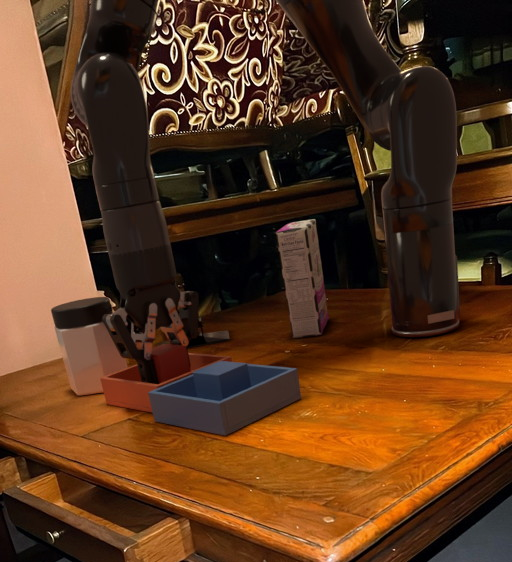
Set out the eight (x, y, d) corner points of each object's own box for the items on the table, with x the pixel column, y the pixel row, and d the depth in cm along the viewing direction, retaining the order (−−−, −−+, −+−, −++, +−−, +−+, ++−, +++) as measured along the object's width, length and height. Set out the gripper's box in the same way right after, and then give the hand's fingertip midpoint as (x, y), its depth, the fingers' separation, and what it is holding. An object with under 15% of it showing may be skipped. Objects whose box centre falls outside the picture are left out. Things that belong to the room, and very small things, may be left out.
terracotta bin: (177, 376, 98) (172, 351, 97) (236, 383, 90) (231, 356, 88) (106, 404, 91) (99, 377, 89) (163, 414, 82) (157, 386, 81)
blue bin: (229, 388, 88) (224, 361, 87) (301, 398, 80) (297, 368, 78) (154, 421, 80) (147, 392, 79) (225, 436, 72) (219, 403, 71)
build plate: (155, 354, 114) (149, 326, 112) (158, 345, 121) (152, 318, 119) (229, 340, 114) (224, 312, 112) (228, 331, 121) (223, 305, 119)
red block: (170, 376, 93) (163, 343, 91) (192, 379, 90) (185, 345, 88) (144, 386, 90) (136, 353, 88) (165, 390, 87) (158, 355, 85)
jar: (136, 384, 98) (117, 299, 93) (80, 399, 95) (57, 312, 90) (120, 373, 105) (101, 294, 101) (67, 387, 102) (45, 306, 98)
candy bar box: (300, 323, 118) (286, 223, 112) (329, 319, 117) (317, 218, 110) (290, 339, 108) (274, 230, 102) (322, 336, 107) (307, 225, 100)
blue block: (227, 396, 83) (220, 360, 81) (253, 400, 80) (247, 363, 78) (199, 409, 80) (191, 372, 78) (225, 413, 77) (218, 375, 75)
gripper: (107, 255, 76) (141, 402, 83) (203, 233, 85) (227, 367, 91) (71, 258, 81) (106, 396, 88) (165, 236, 90) (191, 363, 97)
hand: (168, 380), depth 90 cm, fingers closed on red block, 4 cm apart
